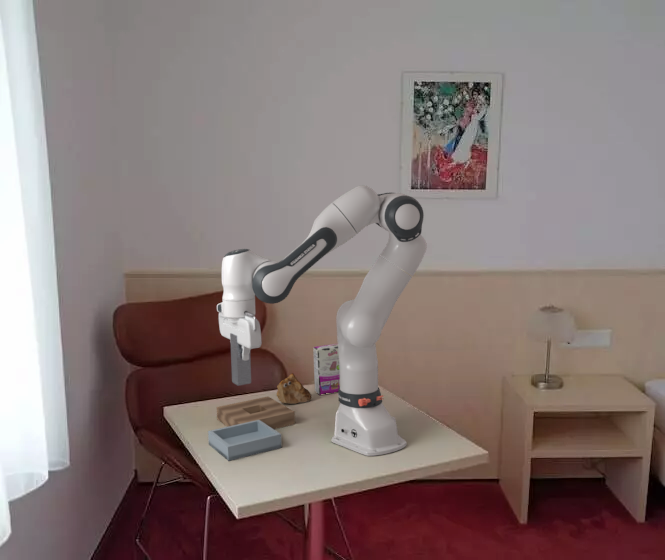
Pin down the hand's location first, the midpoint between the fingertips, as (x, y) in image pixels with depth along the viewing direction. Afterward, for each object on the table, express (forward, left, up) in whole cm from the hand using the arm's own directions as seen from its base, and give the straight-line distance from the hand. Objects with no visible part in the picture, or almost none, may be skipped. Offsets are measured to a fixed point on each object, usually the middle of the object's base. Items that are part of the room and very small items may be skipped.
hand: (241, 357), depth 193 cm
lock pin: (0, 0, -7) cm, 7 cm away
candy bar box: (+28, -46, -26) cm, 60 cm away
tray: (0, 0, -26) cm, 26 cm away
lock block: (+16, -11, -26) cm, 32 cm away
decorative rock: (+25, -29, -26) cm, 46 cm away
